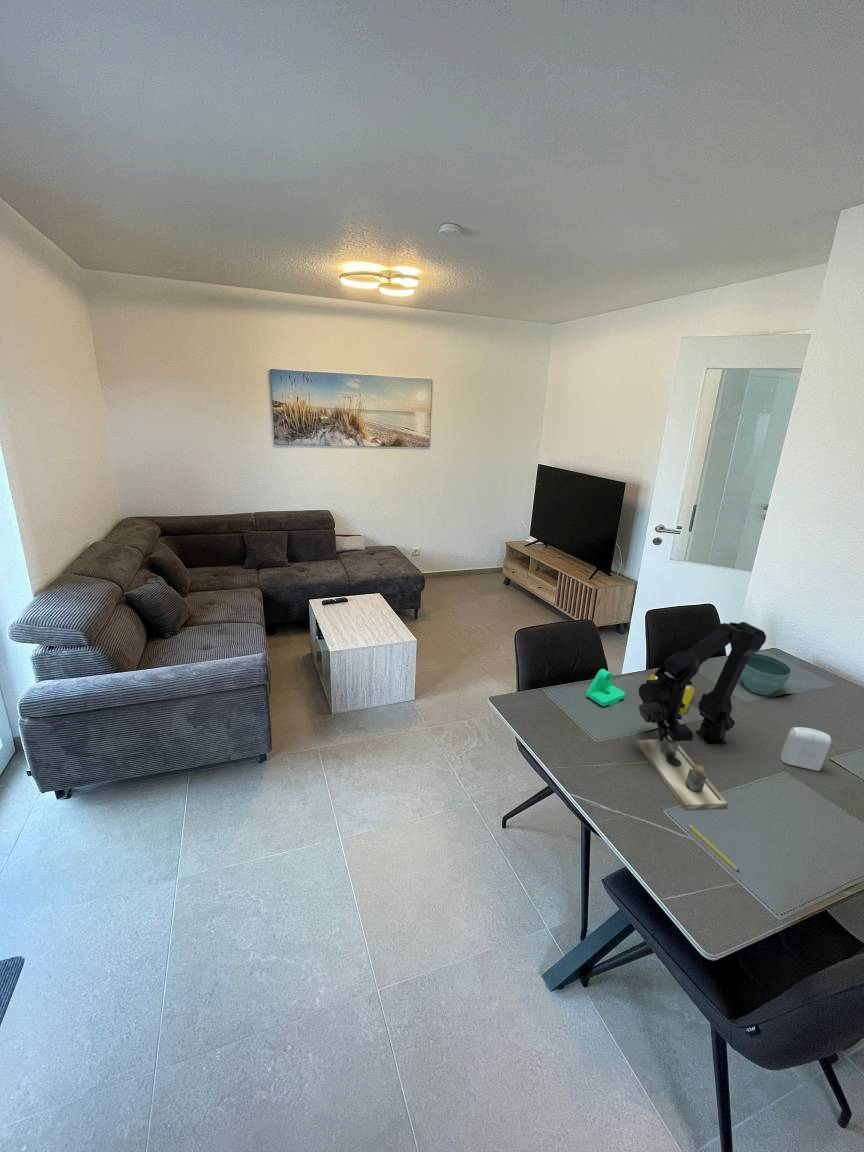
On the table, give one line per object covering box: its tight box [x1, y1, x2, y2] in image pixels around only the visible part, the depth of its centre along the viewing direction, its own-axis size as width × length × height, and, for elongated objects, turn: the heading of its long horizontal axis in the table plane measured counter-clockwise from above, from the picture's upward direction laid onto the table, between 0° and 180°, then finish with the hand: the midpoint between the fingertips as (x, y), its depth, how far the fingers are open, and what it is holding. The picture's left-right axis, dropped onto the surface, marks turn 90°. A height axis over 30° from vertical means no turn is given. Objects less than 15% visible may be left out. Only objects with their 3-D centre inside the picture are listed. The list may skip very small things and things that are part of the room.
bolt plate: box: [636, 738, 729, 811], centre depth 142 cm, size 12×26×8 cm, turn 6°
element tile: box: [647, 673, 695, 715], centre depth 180 cm, size 15×15×5 cm
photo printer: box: [779, 726, 832, 772], centre depth 148 cm, size 10×4×12 cm, turn 73°
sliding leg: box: [661, 735, 680, 757], centre depth 148 cm, size 3×3×7 cm
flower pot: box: [740, 652, 793, 696], centre depth 187 cm, size 16×16×11 cm
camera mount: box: [586, 668, 626, 707], centre depth 177 cm, size 12×8×10 cm, turn 121°
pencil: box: [687, 824, 740, 873], centre depth 120 cm, size 1×14×1 cm, turn 23°
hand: (661, 740), depth 153 cm, fingers closed
